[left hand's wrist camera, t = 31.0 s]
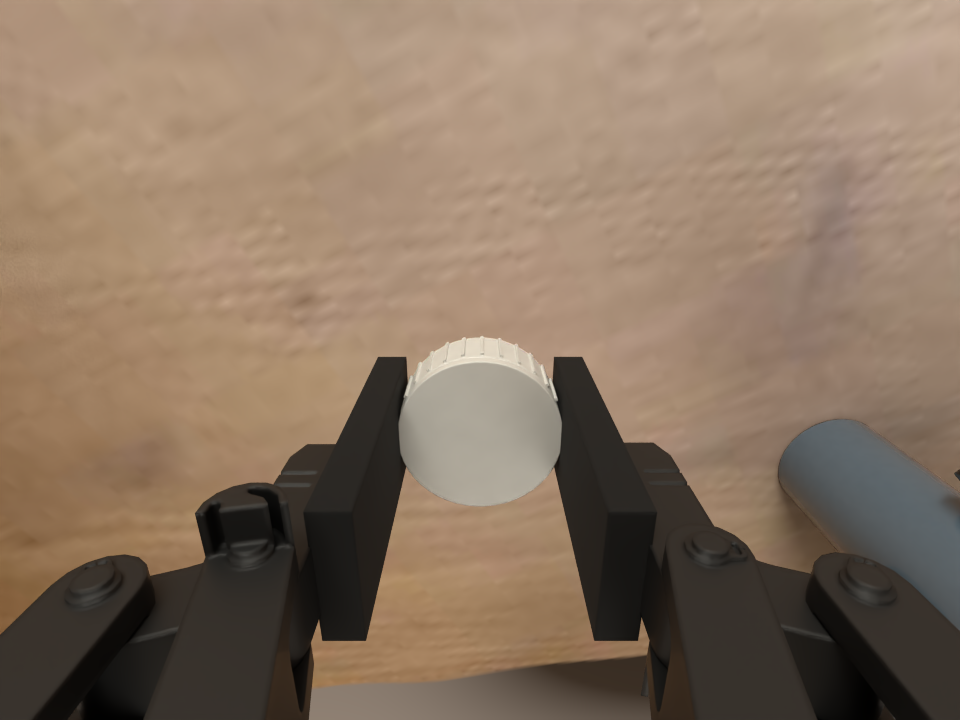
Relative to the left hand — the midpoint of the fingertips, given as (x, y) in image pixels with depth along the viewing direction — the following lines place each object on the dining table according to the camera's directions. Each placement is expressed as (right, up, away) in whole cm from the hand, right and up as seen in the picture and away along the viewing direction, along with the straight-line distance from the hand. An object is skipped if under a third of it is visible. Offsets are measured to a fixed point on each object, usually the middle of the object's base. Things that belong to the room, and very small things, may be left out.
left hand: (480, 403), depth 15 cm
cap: (0, -1, -1) cm, 2 cm away
